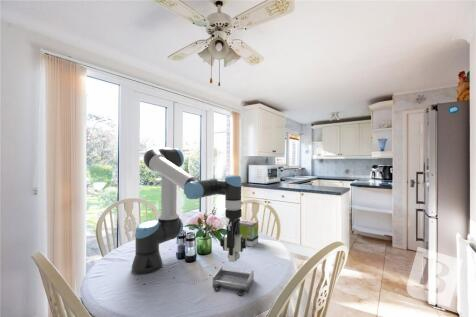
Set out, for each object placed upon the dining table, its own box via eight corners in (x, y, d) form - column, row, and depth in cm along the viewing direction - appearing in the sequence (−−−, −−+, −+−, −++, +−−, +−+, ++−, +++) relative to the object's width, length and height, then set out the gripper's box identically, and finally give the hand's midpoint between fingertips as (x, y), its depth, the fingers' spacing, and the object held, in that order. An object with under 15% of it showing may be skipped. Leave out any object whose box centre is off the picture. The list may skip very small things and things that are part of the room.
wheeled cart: (210, 290, 95) (210, 280, 95) (221, 274, 108) (221, 265, 108) (246, 297, 91) (246, 286, 91) (253, 280, 103) (253, 270, 103)
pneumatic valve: (245, 262, 97) (245, 235, 97) (220, 260, 99) (220, 234, 100) (247, 257, 102) (247, 232, 103) (223, 255, 105) (223, 230, 105)
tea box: (258, 242, 150) (258, 221, 151) (251, 247, 142) (251, 224, 142) (240, 238, 158) (240, 218, 158) (232, 242, 150) (232, 221, 150)
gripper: (235, 213, 91) (235, 269, 91) (246, 205, 109) (246, 251, 108) (218, 212, 93) (218, 266, 93) (231, 204, 111) (232, 249, 111)
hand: (233, 258), depth 101 cm, fingers closed on pneumatic valve, 5 cm apart
